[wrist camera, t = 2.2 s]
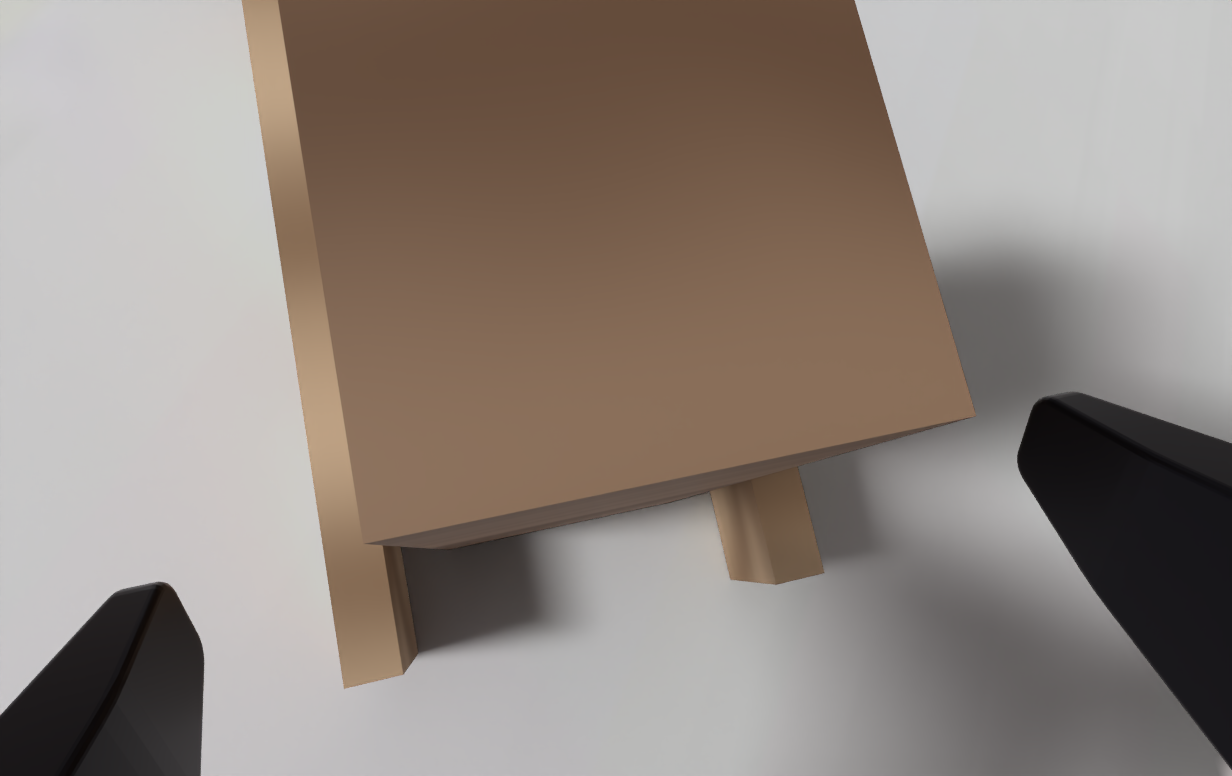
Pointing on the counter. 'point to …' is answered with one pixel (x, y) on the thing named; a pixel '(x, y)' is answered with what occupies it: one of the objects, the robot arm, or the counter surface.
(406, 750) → the counter surface
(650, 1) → the tall brown box
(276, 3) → the wooden u-shaped frame
